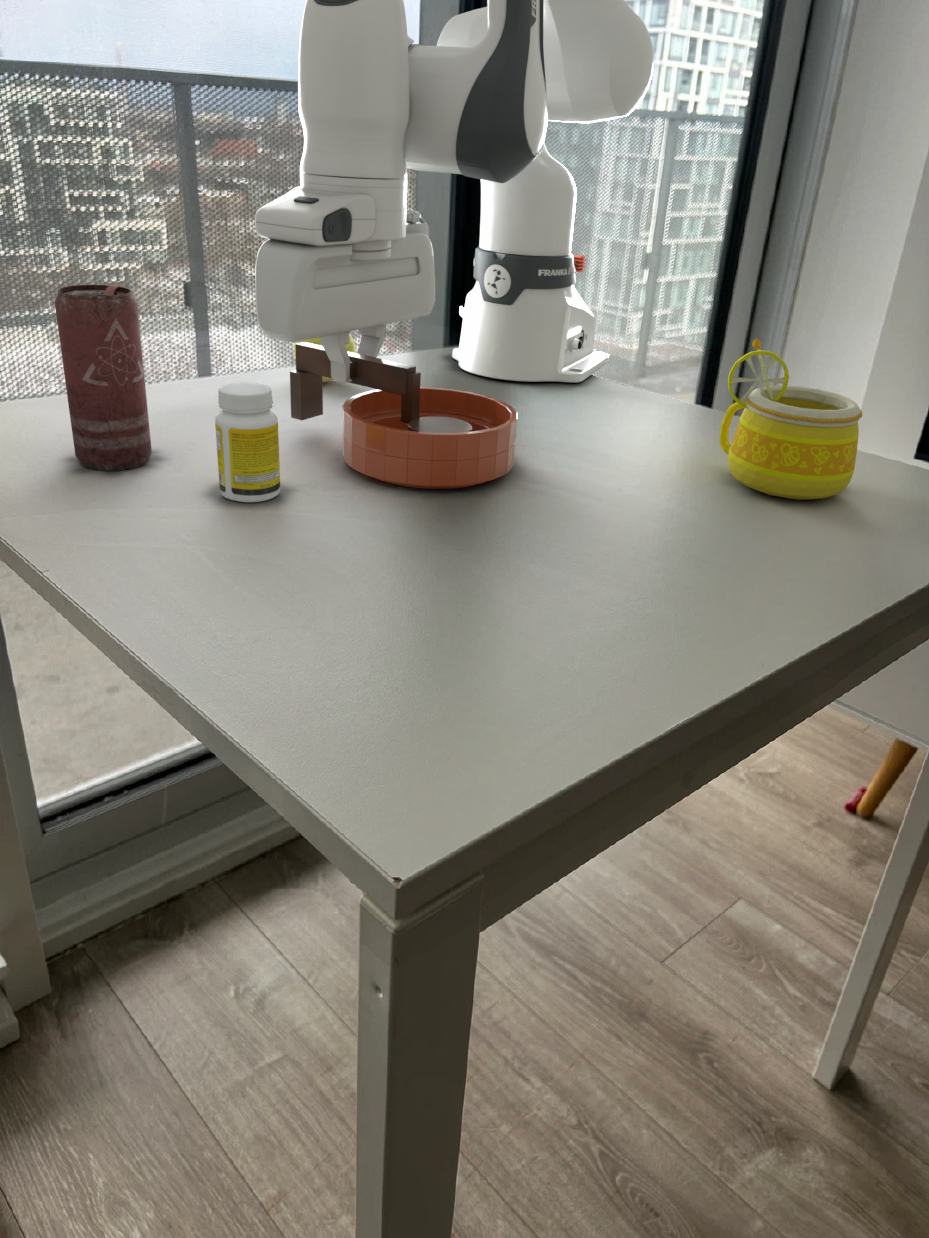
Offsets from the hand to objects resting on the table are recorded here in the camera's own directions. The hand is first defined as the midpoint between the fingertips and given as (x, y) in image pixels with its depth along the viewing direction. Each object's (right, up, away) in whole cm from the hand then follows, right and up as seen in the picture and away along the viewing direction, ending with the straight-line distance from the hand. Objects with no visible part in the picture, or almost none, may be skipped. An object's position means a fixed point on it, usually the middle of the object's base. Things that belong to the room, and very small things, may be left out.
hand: (353, 378), depth 85 cm
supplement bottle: (-7, -12, -10) cm, 17 cm away
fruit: (-6, +5, +23) cm, 25 cm away
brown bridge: (+2, -5, +1) cm, 6 cm away
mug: (+38, -10, 0) cm, 40 cm away
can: (-20, -8, -5) cm, 22 cm away
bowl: (+7, -8, -1) cm, 11 cm away
